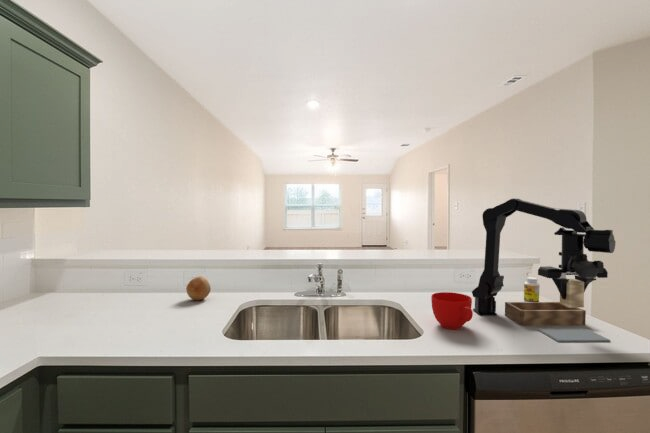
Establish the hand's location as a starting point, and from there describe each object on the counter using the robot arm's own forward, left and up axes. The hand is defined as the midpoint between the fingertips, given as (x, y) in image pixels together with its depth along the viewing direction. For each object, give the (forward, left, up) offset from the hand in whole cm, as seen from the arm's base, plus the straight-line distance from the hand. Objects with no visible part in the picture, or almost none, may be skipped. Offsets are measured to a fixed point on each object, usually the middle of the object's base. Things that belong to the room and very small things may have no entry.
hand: (571, 299), depth 115 cm
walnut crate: (0, +14, -11) cm, 18 cm away
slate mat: (0, -1, -11) cm, 11 cm away
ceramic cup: (-35, +7, -12) cm, 37 cm away
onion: (-132, +43, -12) cm, 139 cm away
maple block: (0, 0, -2) cm, 2 cm away
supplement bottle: (+9, +37, -12) cm, 40 cm away
